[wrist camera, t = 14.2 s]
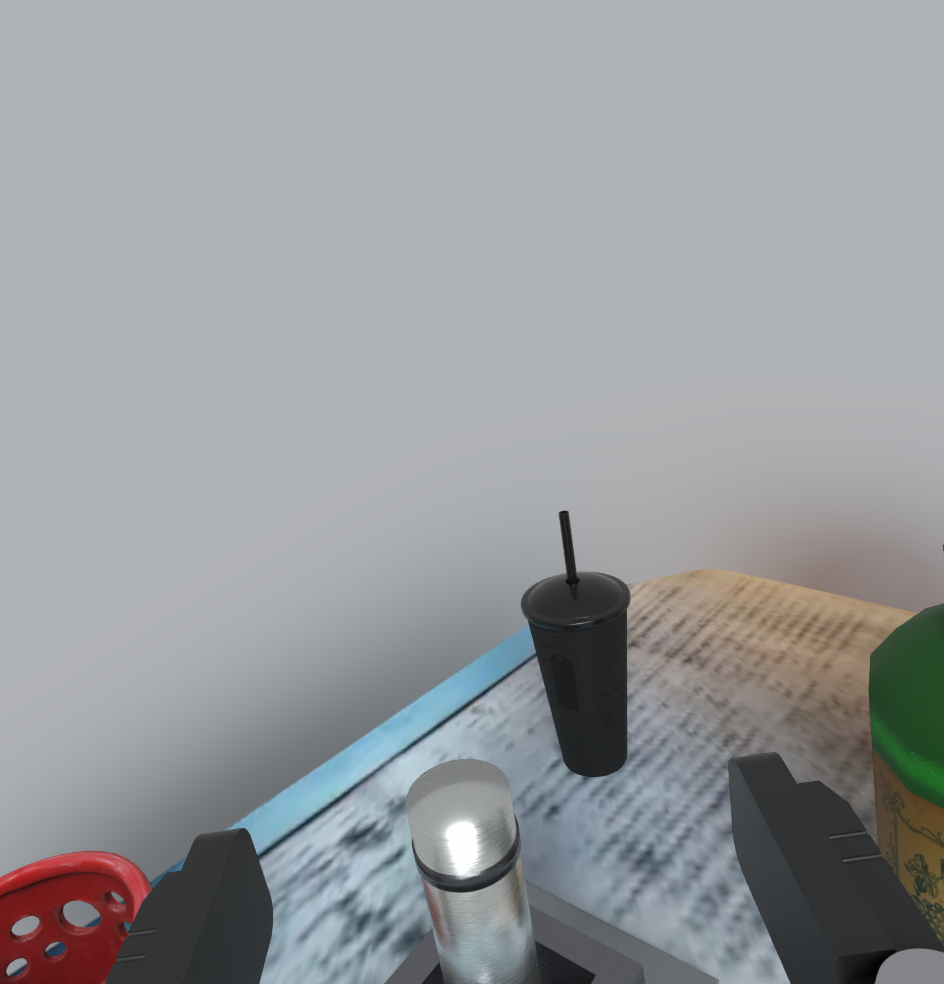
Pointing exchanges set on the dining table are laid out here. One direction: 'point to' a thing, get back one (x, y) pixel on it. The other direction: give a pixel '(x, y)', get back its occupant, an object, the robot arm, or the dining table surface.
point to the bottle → (911, 757)
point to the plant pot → (43, 893)
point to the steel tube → (473, 873)
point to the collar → (570, 952)
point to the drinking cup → (583, 660)
